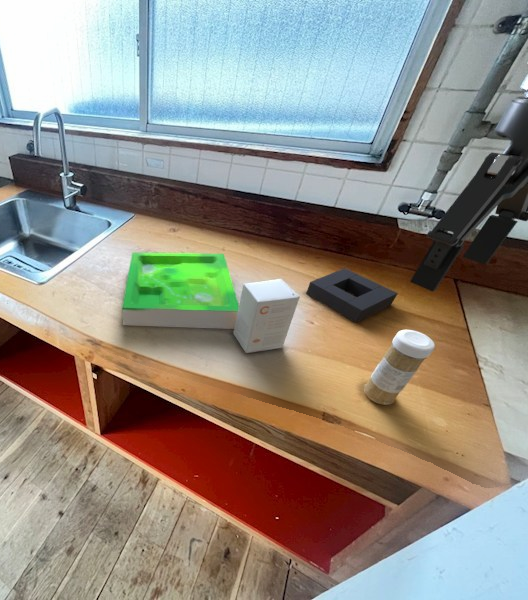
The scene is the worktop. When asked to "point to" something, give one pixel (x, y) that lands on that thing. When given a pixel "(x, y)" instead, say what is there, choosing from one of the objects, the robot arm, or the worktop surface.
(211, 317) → the green board game box
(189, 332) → the worktop surface
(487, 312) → the worktop surface
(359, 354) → the worktop surface
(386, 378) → the sprinkles bottle
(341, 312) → the dark grey square frame
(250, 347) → the small box
